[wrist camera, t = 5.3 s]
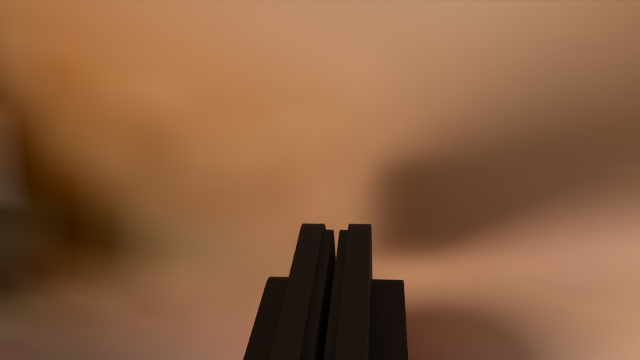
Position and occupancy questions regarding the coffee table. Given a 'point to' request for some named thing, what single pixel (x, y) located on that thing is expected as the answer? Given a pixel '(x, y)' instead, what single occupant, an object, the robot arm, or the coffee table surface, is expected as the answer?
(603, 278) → the coffee table surface
